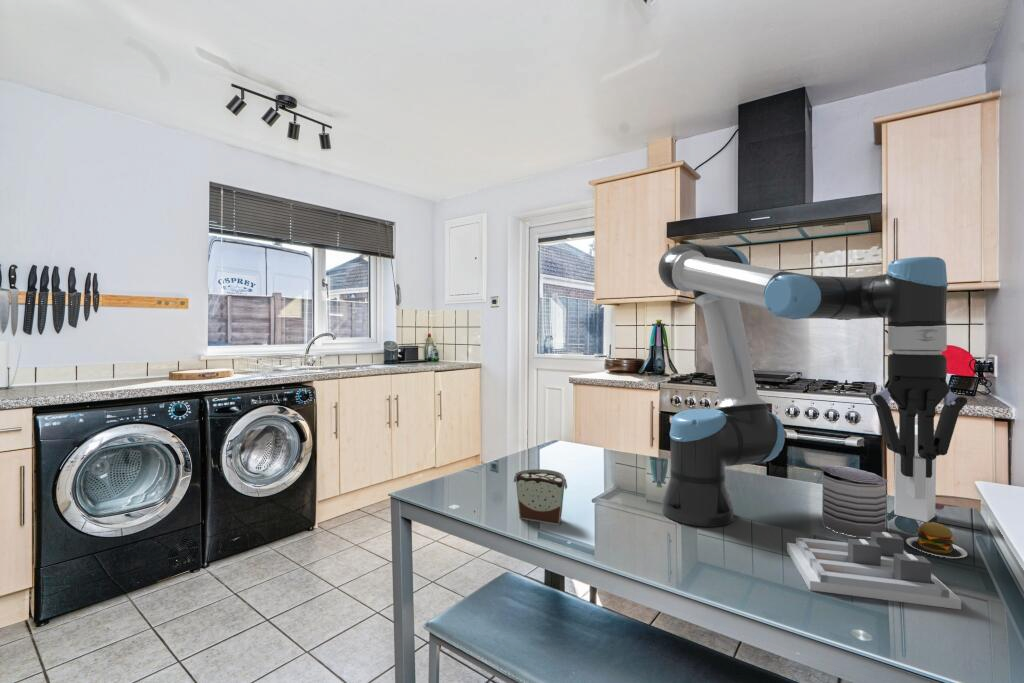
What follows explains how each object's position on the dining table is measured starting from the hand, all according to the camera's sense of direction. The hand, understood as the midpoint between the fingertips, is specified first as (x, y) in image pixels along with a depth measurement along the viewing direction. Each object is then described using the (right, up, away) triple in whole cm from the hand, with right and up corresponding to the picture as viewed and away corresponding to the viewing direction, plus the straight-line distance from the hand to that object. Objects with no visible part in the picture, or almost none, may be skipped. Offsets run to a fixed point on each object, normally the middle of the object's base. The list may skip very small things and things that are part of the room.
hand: (916, 496), depth 82 cm
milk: (+24, -14, +30) cm, 41 cm away
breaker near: (-3, -13, -3) cm, 14 cm away
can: (+6, -14, +23) cm, 28 cm away
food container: (-59, -14, +30) cm, 68 cm away
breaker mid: (-7, -13, +3) cm, 15 cm away
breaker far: (-1, -13, +6) cm, 14 cm away
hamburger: (+14, -15, +13) cm, 25 cm away
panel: (-7, -14, +3) cm, 16 cm away
